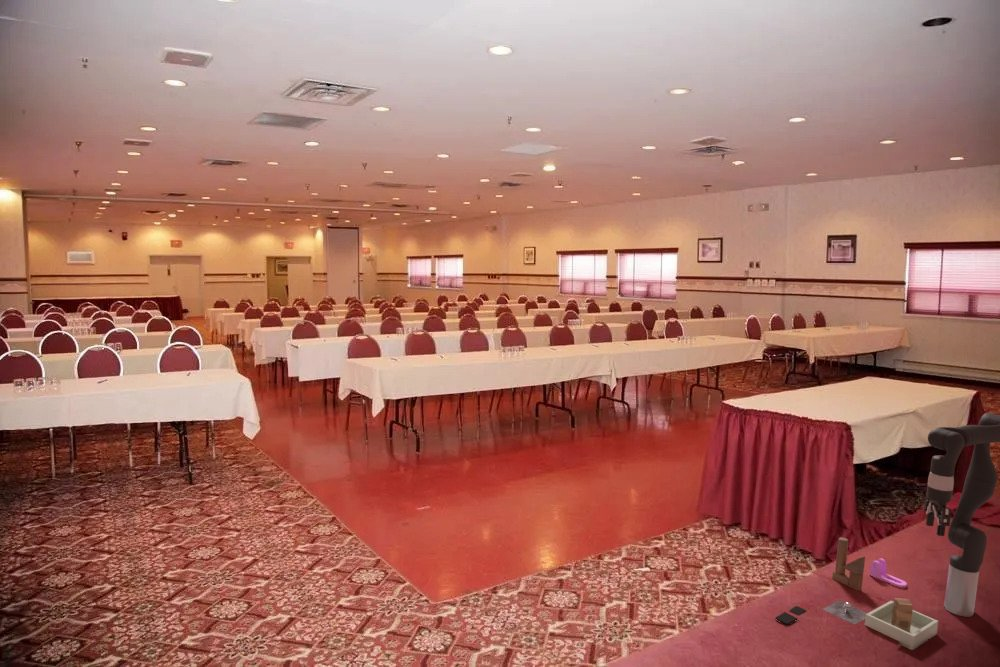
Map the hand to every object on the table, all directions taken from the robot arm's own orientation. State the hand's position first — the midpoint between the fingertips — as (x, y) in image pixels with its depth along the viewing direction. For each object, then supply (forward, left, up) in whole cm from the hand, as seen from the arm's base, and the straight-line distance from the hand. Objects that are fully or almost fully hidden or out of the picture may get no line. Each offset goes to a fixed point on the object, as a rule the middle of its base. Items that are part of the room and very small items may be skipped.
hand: (934, 530), depth 239 cm
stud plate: (+16, -19, -36) cm, 44 cm away
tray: (+10, -3, -36) cm, 38 cm away
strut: (+10, -3, -35) cm, 37 cm away
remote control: (+35, -29, -37) cm, 59 cm away
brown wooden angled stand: (-6, -31, -36) cm, 48 cm away
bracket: (-25, -24, -36) cm, 50 cm away
